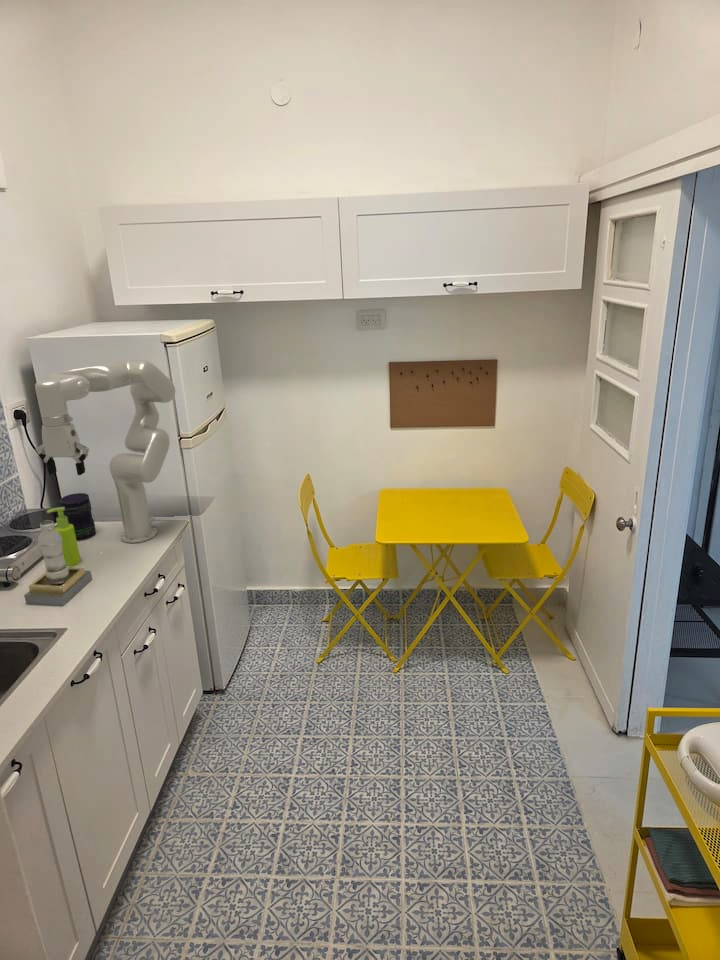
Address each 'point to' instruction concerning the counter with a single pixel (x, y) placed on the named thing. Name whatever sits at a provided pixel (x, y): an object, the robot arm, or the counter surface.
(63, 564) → the plastic bottle
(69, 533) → the soap dispenser
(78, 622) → the counter surface
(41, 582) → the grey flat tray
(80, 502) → the storage jar
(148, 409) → the robot arm
